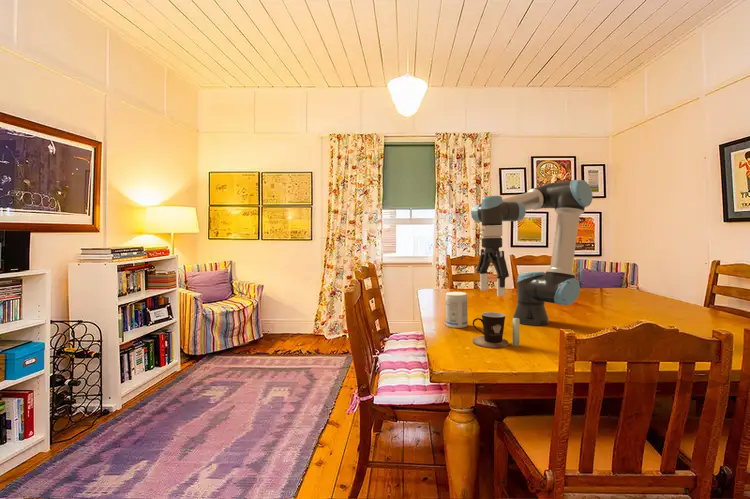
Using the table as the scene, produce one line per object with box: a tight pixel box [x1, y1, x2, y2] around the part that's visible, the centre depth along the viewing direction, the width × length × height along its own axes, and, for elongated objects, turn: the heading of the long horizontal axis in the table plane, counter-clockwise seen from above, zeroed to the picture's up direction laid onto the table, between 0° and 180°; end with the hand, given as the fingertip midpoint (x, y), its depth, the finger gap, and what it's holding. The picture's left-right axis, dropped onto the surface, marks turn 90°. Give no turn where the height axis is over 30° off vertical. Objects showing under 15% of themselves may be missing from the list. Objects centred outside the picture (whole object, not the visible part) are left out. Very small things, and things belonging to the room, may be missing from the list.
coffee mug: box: [472, 311, 506, 343], centre depth 147 cm, size 12×9×10 cm
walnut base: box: [472, 335, 509, 349], centre depth 146 cm, size 13×13×1 cm
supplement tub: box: [445, 291, 469, 329], centre depth 172 cm, size 10×10×15 cm
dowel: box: [512, 317, 521, 347], centre depth 143 cm, size 2×2×10 cm
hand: (492, 293), depth 147 cm, fingers open, 13 cm apart
